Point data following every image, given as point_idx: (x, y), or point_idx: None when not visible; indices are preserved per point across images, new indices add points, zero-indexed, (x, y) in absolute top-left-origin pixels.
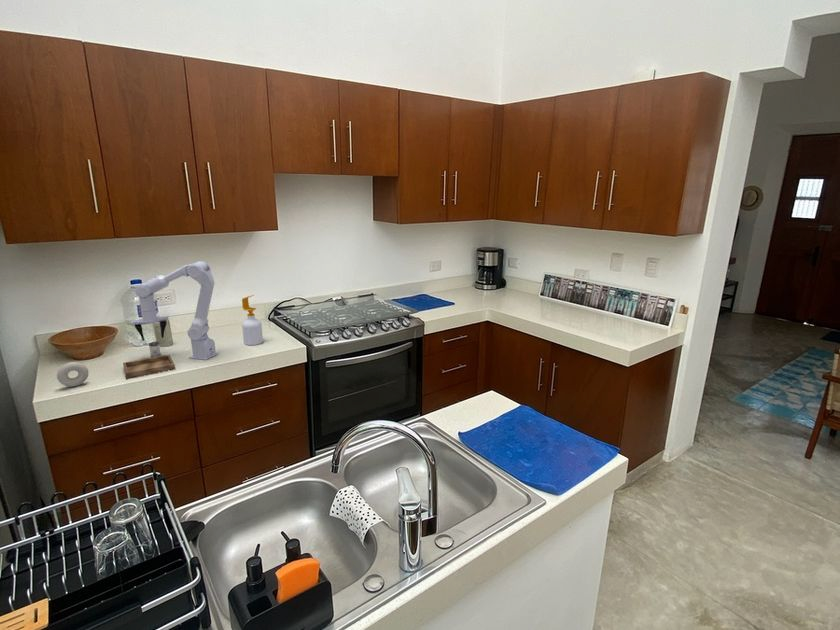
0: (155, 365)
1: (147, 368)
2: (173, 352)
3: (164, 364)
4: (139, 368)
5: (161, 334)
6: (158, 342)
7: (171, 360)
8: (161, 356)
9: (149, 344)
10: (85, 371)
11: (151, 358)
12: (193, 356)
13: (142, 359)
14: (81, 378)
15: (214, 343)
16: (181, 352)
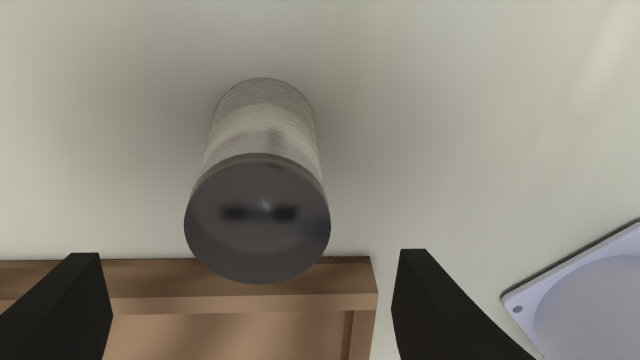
0: (237, 347)
1: None
2: (457, 68)
3: (301, 356)
4: (117, 350)
5: (408, 330)
6: (322, 241)
7: None
8: (301, 309)
9: (195, 253)
10: None
11: (211, 312)
12: (535, 316)
13: (129, 301)
14: None
15: None
16: (520, 118)
